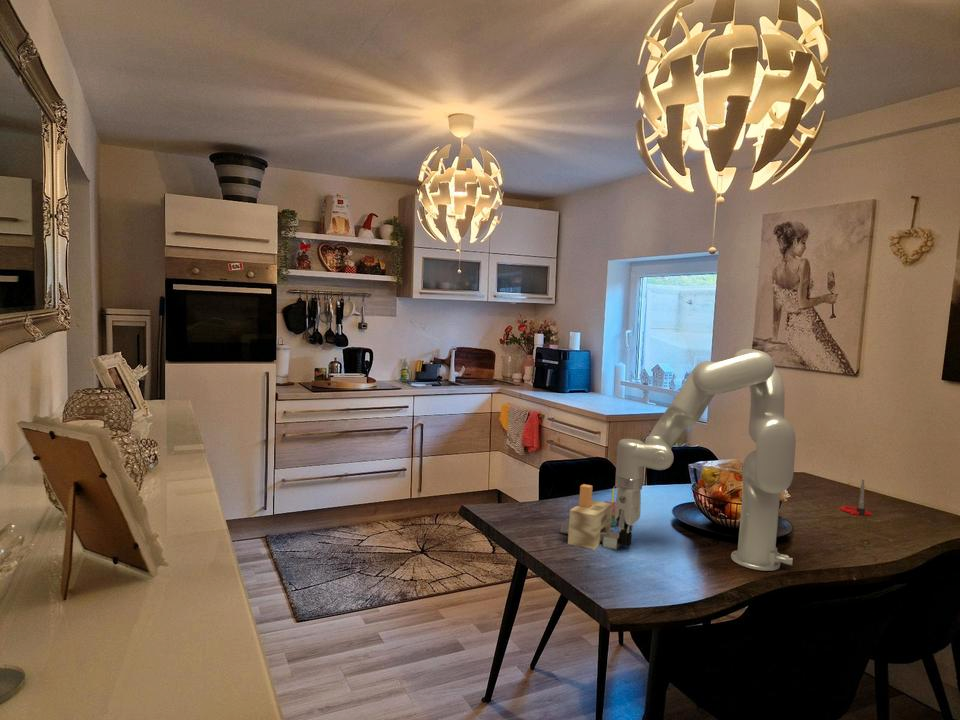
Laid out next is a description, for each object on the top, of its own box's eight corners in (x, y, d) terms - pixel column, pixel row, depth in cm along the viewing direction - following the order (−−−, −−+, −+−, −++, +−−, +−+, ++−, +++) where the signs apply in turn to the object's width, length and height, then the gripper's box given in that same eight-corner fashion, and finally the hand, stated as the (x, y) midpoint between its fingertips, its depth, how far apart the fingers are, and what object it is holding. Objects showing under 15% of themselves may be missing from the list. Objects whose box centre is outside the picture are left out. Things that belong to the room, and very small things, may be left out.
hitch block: (610, 536, 191) (612, 504, 190) (593, 550, 179) (596, 515, 178) (585, 530, 195) (587, 498, 194) (567, 543, 183) (569, 510, 182)
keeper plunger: (591, 508, 188) (592, 485, 187) (587, 511, 185) (589, 487, 185) (582, 506, 189) (583, 484, 188) (578, 509, 187) (580, 486, 186)
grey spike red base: (835, 508, 234) (850, 515, 225) (837, 474, 234) (853, 479, 225) (857, 509, 235) (873, 516, 225) (859, 475, 234) (876, 480, 225)
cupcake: (601, 517, 208) (603, 482, 207) (626, 523, 204) (629, 487, 203) (592, 524, 201) (594, 487, 200) (618, 530, 196) (620, 492, 195)
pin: (622, 543, 185) (623, 533, 185) (616, 549, 180) (617, 539, 180) (565, 530, 194) (566, 520, 194) (558, 535, 189) (558, 525, 189)
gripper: (633, 490, 172) (629, 556, 173) (649, 479, 184) (645, 540, 186) (607, 485, 175) (603, 549, 177) (624, 475, 188) (620, 534, 190)
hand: (624, 544), depth 181 cm, fingers closed
